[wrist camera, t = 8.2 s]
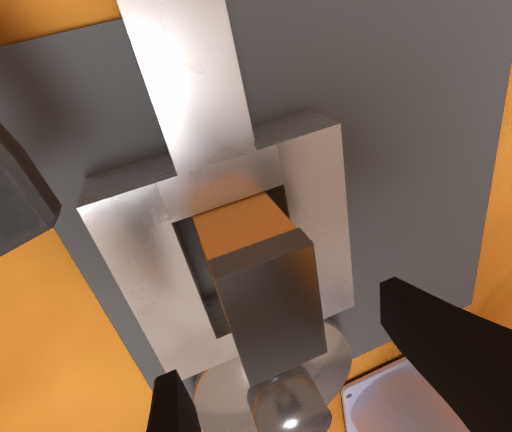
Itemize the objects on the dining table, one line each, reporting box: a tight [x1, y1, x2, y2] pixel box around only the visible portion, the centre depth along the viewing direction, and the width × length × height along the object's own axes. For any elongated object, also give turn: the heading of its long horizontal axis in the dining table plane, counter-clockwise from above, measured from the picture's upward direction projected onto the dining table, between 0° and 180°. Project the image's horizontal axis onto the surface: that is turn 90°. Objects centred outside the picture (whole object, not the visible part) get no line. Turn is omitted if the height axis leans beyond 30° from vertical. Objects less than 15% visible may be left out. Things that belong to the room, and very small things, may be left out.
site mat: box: [0, 0, 512, 429], centre depth 20 cm, size 24×24×1 cm
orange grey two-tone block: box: [191, 191, 328, 387], centre depth 14 cm, size 5×3×7 cm, turn 11°
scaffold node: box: [76, 0, 355, 432], centre depth 17 cm, size 26×10×5 cm, turn 12°
